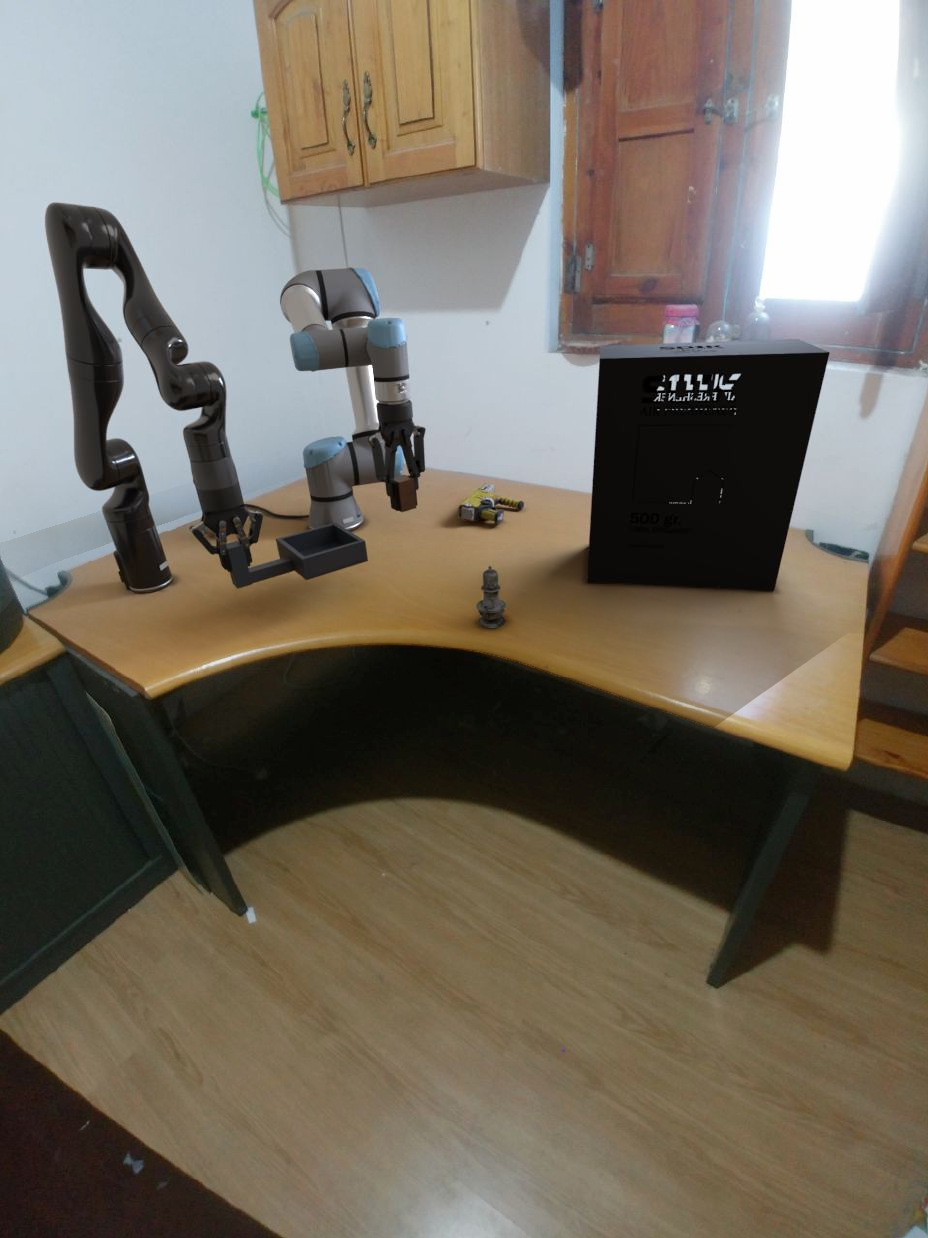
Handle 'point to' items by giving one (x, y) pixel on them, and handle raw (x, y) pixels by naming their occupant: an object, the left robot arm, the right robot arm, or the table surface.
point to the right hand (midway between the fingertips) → (404, 506)
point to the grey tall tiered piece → (491, 601)
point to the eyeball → (209, 531)
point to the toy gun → (486, 505)
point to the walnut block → (406, 492)
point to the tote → (301, 555)
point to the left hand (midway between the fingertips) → (238, 567)
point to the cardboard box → (699, 461)
